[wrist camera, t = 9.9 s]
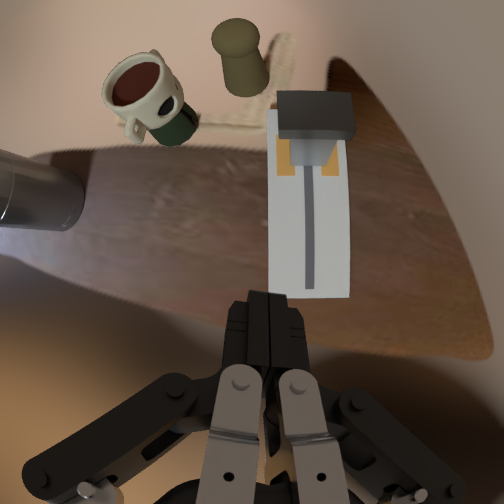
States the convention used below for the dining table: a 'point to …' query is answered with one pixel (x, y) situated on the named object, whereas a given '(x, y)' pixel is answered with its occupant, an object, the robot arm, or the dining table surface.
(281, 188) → the fader console
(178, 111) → the character mug
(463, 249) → the dining table surface
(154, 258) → the dining table surface
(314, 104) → the fader knob
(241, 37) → the cork
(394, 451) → the robot arm
